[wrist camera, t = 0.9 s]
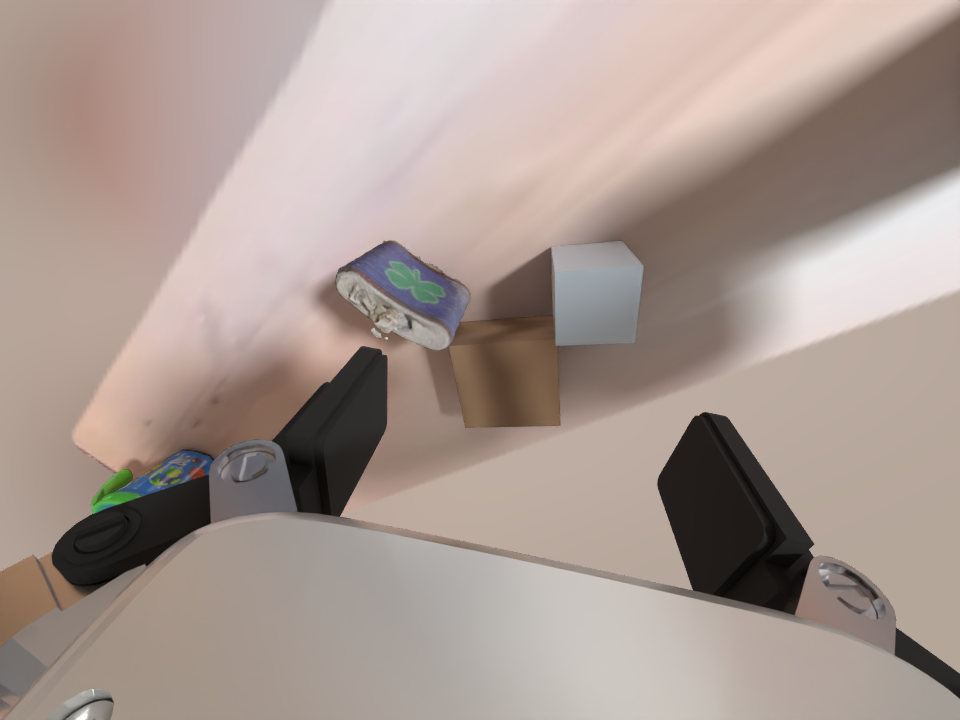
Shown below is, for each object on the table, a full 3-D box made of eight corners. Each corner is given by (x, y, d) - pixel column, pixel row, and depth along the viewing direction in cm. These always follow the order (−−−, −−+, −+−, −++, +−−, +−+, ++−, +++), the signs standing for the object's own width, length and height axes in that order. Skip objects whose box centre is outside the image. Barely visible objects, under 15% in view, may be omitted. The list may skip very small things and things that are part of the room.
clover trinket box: (476, 290, 33) (452, 347, 24) (460, 315, 35) (432, 377, 26) (385, 232, 32) (323, 269, 23) (373, 260, 33) (310, 305, 24)
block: (554, 314, 34) (557, 339, 29) (557, 393, 38) (560, 425, 34) (459, 321, 35) (448, 346, 31) (473, 397, 40) (465, 427, 35)
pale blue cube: (622, 240, 29) (643, 265, 24) (617, 305, 32) (635, 343, 26) (551, 246, 30) (554, 272, 24) (552, 309, 33) (555, 345, 27)
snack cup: (154, 473, 54) (81, 536, 46) (141, 423, 49) (56, 484, 40) (256, 505, 55) (204, 573, 47) (255, 460, 50) (195, 527, 41)
